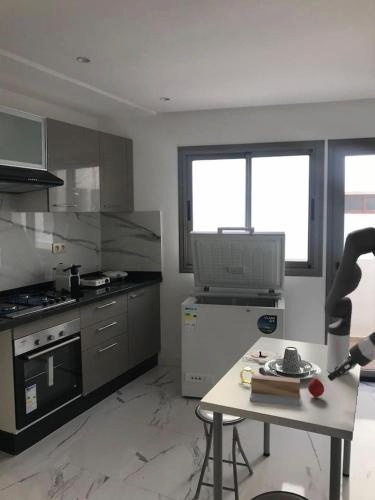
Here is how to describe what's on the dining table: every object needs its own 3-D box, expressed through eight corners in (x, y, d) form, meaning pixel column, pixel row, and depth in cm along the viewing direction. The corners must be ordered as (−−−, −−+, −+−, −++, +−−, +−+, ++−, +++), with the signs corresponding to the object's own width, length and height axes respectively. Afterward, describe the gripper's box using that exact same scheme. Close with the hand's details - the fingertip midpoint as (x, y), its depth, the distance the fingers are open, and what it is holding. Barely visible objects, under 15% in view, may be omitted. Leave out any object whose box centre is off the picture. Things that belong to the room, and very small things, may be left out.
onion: (325, 396, 164) (326, 376, 163) (321, 402, 159) (322, 381, 158) (310, 393, 167) (310, 373, 166) (306, 398, 162) (306, 378, 161)
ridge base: (253, 387, 172) (253, 384, 172) (299, 392, 168) (299, 389, 167) (249, 400, 161) (249, 397, 161) (299, 406, 156) (299, 403, 156)
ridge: (252, 389, 168) (252, 374, 167) (299, 394, 163) (299, 378, 163) (251, 392, 165) (251, 377, 164) (299, 398, 160) (299, 382, 159)
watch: (255, 383, 178) (256, 369, 177) (252, 385, 175) (253, 371, 174) (241, 379, 181) (242, 365, 180) (239, 381, 178) (240, 367, 177)
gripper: (363, 336, 158) (331, 360, 166) (353, 347, 146) (319, 372, 154) (378, 353, 156) (345, 377, 163) (369, 365, 144) (334, 390, 152)
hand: (332, 374), depth 159 cm, fingers open, 8 cm apart
